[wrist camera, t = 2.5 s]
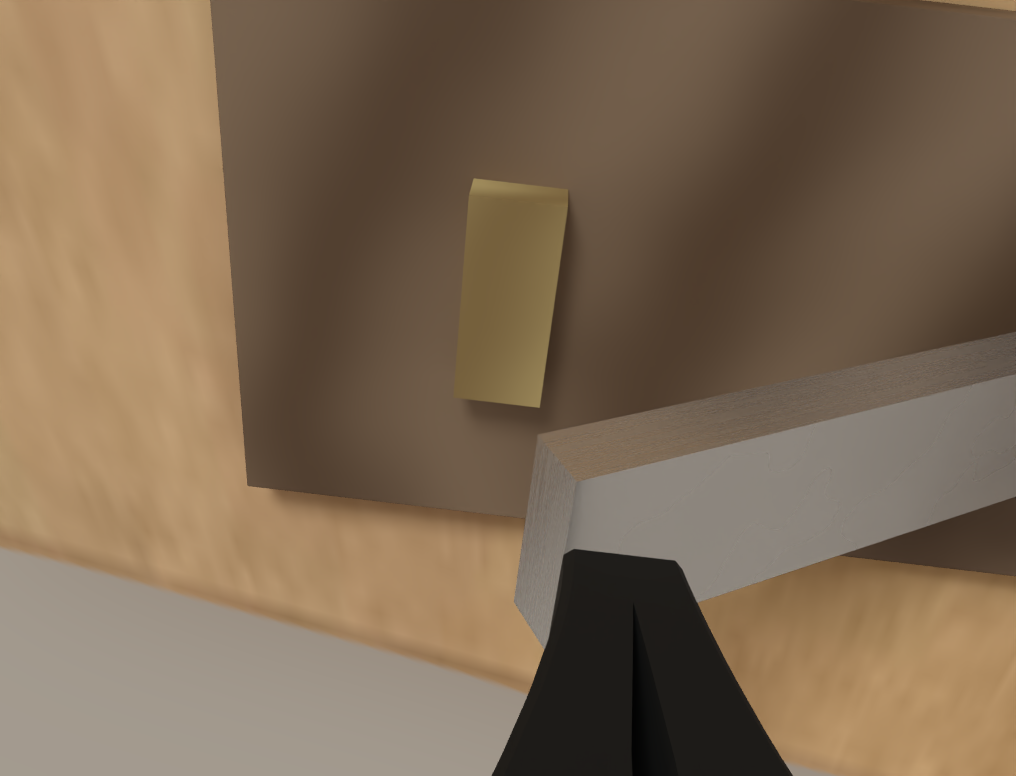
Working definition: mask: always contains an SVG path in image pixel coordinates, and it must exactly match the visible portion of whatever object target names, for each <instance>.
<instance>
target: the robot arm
mask: <svg viewBox="0 0 1016 776" xmlns="http://www.w3.org/2000/svg"><path fill="white" fill-rule="evenodd" d="M492 776H793V775H792V774H791V772H790V770H789V769H788V767H787V766H786V764H785V763H784V761H783V760H782V758H781V756H780V755H779V753H778V751H777V750H776V748H775V746H774V745H773V743H772V741H771V740H770V738H769V737H768V735H767V733H766V732H765V730H764V728H763V727H762V725H761V723H760V721H759V719H758V718H757V716H756V714H755V712H754V711H753V709H752V707H751V705H750V704H749V702H748V700H747V698H746V696H745V695H744V693H743V691H742V689H741V688H740V686H739V684H738V682H737V681H736V679H735V677H734V675H733V673H732V671H731V669H730V668H729V666H728V664H727V662H726V660H725V658H724V656H723V654H722V652H721V650H720V648H719V646H718V644H717V642H716V640H715V638H714V636H713V634H712V633H711V631H710V629H709V627H708V624H707V622H706V620H705V618H704V616H703V614H702V612H701V610H700V608H699V606H698V603H697V601H696V599H695V597H694V595H693V592H692V590H691V588H690V586H689V584H688V581H687V579H686V577H685V574H684V572H683V569H682V568H681V567H680V566H679V564H678V563H677V562H676V561H675V560H666V559H658V558H649V557H641V556H632V555H623V554H615V553H606V552H598V551H589V550H581V549H573V550H571V551H569V552H567V553H566V554H564V555H563V559H562V565H561V571H560V576H559V582H558V588H557V593H556V599H555V604H554V610H553V616H552V621H551V627H550V633H549V638H548V641H547V644H546V647H545V650H544V652H543V655H542V658H541V661H540V664H539V667H538V669H537V672H536V675H535V678H534V681H533V684H532V686H531V689H530V691H529V694H528V696H527V699H526V701H525V703H524V706H523V708H522V710H521V713H520V715H519V717H518V719H517V722H516V724H515V726H514V728H513V731H512V733H511V735H510V738H509V740H508V742H507V745H506V747H505V749H504V751H503V753H502V755H501V758H500V760H499V762H498V764H497V766H496V768H495V770H494V772H493V774H492Z"/></svg>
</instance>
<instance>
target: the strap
mask: <svg viewBox="0 0 1016 776" xmlns="http://www.w3.org/2000/svg"><path fill="white" fill-rule="evenodd" d="M1013 497H1016V332H1012V333H1008V334H1003V335H999V336H994V337H989V338H985V339H980V340H975V341H971V342H966V343H961V344H957V345H952V346H947V347H943V348H938V349H933V350H929V351H924V352H919V353H915V354H910V355H906V356H901V357H896V358H892V359H887V360H882V361H878V362H873V363H868V364H864V365H859V366H854V367H850V368H845V369H840V370H836V371H831V372H826V373H822V374H817V375H813V376H808V377H803V378H799V379H794V380H789V381H785V382H780V383H775V384H771V385H766V386H761V387H757V388H752V389H747V390H743V391H738V392H733V393H729V394H724V395H720V396H715V397H710V398H706V399H701V400H696V401H692V402H687V403H682V404H678V405H673V406H668V407H664V408H659V409H654V410H650V411H645V412H640V413H636V414H631V415H627V416H622V417H617V418H613V419H608V420H603V421H599V422H594V423H589V424H585V425H580V426H575V427H571V428H566V429H561V430H557V431H552V432H547V433H543V434H538V436H537V443H536V450H535V458H534V465H533V472H532V479H531V486H530V493H529V500H528V507H527V514H526V521H525V528H524V535H523V542H522V549H521V556H520V563H519V570H518V577H517V584H516V591H515V598H514V603H515V604H516V606H517V607H518V609H519V611H520V612H521V614H522V615H523V617H524V618H525V620H526V621H527V623H528V625H529V626H530V628H531V629H532V631H533V632H534V634H535V636H536V637H537V639H538V640H539V642H540V643H541V645H542V646H543V648H544V650H545V647H546V644H547V641H548V638H549V633H550V627H551V621H552V616H553V610H554V604H555V599H556V593H557V588H558V582H559V576H560V571H561V565H562V559H563V555H564V554H566V553H567V552H569V551H571V550H573V549H581V550H589V551H598V552H606V553H615V554H623V555H632V556H641V557H649V558H658V559H666V560H675V561H676V562H677V563H678V564H679V566H680V567H681V568H682V569H683V572H684V574H685V577H686V579H687V581H688V584H689V586H690V588H691V590H692V592H693V595H694V597H695V599H696V601H697V603H698V602H701V601H704V600H707V599H710V598H713V597H716V596H719V595H722V594H725V593H728V592H731V591H734V590H737V589H740V588H743V587H746V586H749V585H752V584H755V583H758V582H761V581H764V580H767V579H770V578H773V577H776V576H779V575H782V574H785V573H788V572H791V571H794V570H797V569H800V568H803V567H806V566H809V565H812V564H815V563H818V562H821V561H824V560H827V559H830V558H833V557H836V556H839V555H842V554H845V553H848V552H851V551H854V550H857V549H860V548H863V547H866V546H869V545H872V544H875V543H878V542H881V541H884V540H887V539H890V538H893V537H896V536H899V535H902V534H905V533H908V532H911V531H914V530H917V529H920V528H923V527H926V526H929V525H932V524H935V523H938V522H941V521H944V520H947V519H950V518H953V517H956V516H959V515H962V514H965V513H968V512H971V511H974V510H977V509H980V508H983V507H986V506H989V505H992V504H995V503H998V502H1001V501H1004V500H1007V499H1010V498H1013Z"/></svg>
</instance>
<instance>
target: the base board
mask: <svg viewBox="0 0 1016 776" xmlns="http://www.w3.org/2000/svg"><path fill="white" fill-rule="evenodd" d="M210 3H211V16H212V29H213V42H214V55H215V68H216V81H217V94H218V107H219V120H220V133H221V146H222V159H223V172H224V185H225V198H226V211H227V224H228V237H229V250H230V263H231V276H232V290H233V303H234V316H235V329H236V342H237V355H238V368H239V381H240V394H241V407H242V420H243V433H244V446H245V459H246V472H247V485H248V486H253V487H261V488H270V489H278V490H287V491H295V492H304V493H312V494H321V495H329V496H338V497H346V498H355V499H363V500H372V501H380V502H389V503H397V504H406V505H414V506H423V507H431V508H440V509H448V510H457V511H465V512H474V513H482V514H491V515H499V516H508V517H516V518H525V519H526V514H527V507H528V500H529V493H530V486H531V479H532V472H533V465H534V458H535V450H536V443H537V436H538V434H543V433H547V432H552V431H557V430H561V429H566V428H571V427H575V426H580V425H585V424H589V423H594V422H599V421H603V420H608V419H613V418H617V417H622V416H627V415H631V414H636V413H640V412H645V411H650V410H654V409H659V408H664V407H668V406H673V405H678V404H682V403H687V402H692V401H696V400H701V399H706V398H710V397H715V396H720V395H724V394H729V393H733V392H738V391H743V390H747V389H752V388H757V387H761V386H766V385H771V384H775V383H780V382H785V381H789V380H794V379H799V378H803V377H808V376H813V375H817V374H822V373H826V372H831V371H836V370H840V369H845V368H850V367H854V366H859V365H864V364H868V363H873V362H878V361H882V360H887V359H892V358H896V357H901V356H906V355H910V354H915V353H919V352H924V351H929V350H933V349H938V348H943V347H947V346H952V345H957V344H961V343H966V342H971V341H975V340H980V339H985V338H989V337H994V336H999V335H1003V334H1008V333H1012V332H1016V11H1008V10H1000V9H991V8H983V7H974V6H965V5H957V4H948V3H940V2H931V1H922V0H210ZM840 556H848V557H857V558H865V559H874V560H882V561H891V562H899V563H908V564H916V565H925V566H933V567H942V568H950V569H959V570H967V571H976V572H985V573H993V574H1002V575H1010V576H1016V497H1013V498H1010V499H1007V500H1004V501H1001V502H998V503H995V504H992V505H989V506H986V507H983V508H980V509H977V510H974V511H971V512H968V513H965V514H962V515H959V516H956V517H953V518H950V519H947V520H944V521H941V522H938V523H935V524H932V525H929V526H926V527H923V528H920V529H917V530H914V531H911V532H908V533H905V534H902V535H899V536H896V537H893V538H890V539H887V540H884V541H881V542H878V543H875V544H872V545H869V546H866V547H863V548H860V549H857V550H854V551H851V552H848V553H845V554H842V555H840Z"/></svg>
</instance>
